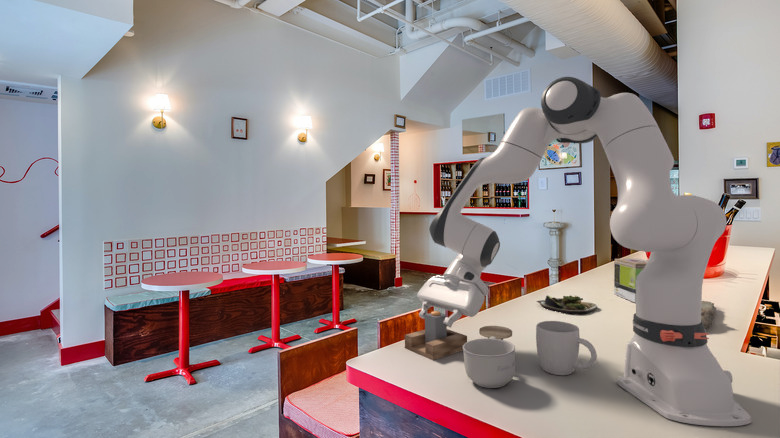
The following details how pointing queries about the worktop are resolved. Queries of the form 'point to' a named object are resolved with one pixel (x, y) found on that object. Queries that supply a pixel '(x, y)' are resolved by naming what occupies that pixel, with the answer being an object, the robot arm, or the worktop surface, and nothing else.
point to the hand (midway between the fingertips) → (433, 321)
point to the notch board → (435, 344)
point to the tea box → (627, 277)
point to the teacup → (489, 361)
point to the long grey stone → (707, 313)
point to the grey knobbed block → (435, 326)
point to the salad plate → (567, 305)
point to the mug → (561, 347)
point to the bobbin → (495, 332)
